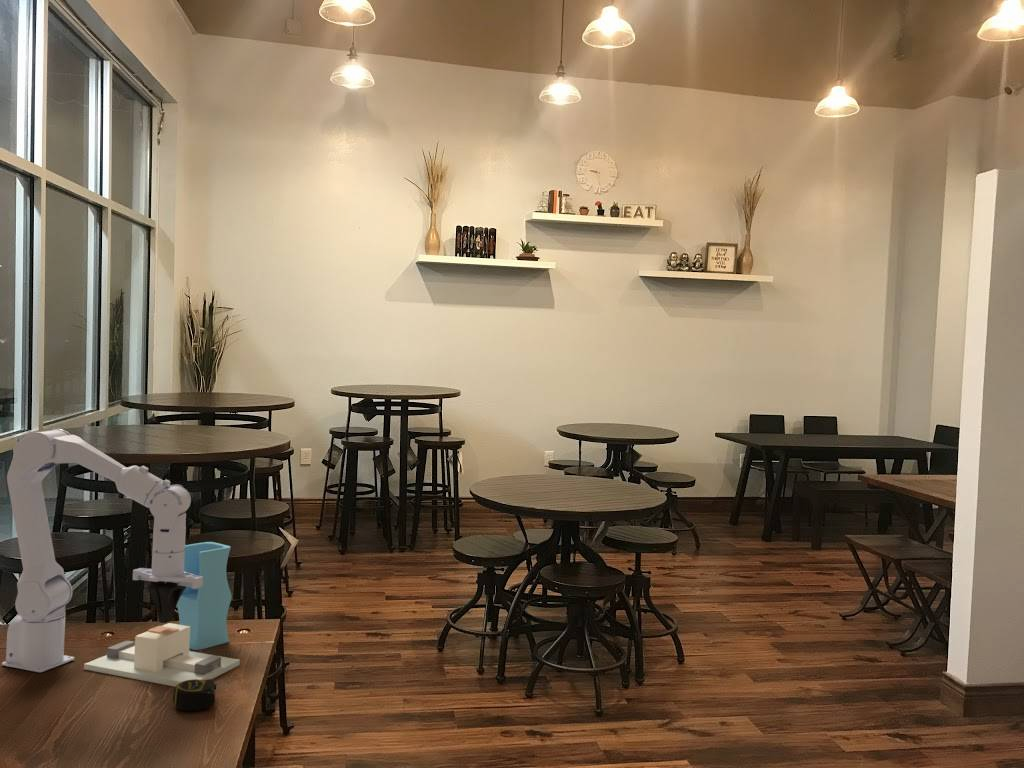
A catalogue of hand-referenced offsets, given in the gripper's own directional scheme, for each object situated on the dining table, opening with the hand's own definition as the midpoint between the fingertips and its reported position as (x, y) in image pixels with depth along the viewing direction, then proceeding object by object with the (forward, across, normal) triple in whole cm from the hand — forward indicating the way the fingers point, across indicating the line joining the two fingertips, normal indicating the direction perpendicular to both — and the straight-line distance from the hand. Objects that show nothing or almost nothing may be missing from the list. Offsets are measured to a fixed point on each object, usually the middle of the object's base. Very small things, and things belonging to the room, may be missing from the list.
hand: (165, 621), depth 157 cm
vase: (+9, -3, +15) cm, 18 cm away
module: (+8, 0, 0) cm, 8 cm away
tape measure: (+9, +17, -12) cm, 23 cm away
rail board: (+9, 0, 0) cm, 9 cm away
